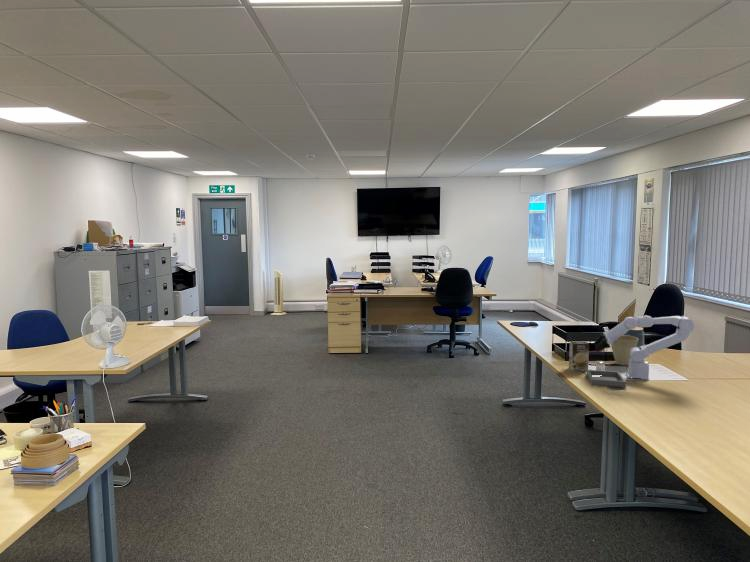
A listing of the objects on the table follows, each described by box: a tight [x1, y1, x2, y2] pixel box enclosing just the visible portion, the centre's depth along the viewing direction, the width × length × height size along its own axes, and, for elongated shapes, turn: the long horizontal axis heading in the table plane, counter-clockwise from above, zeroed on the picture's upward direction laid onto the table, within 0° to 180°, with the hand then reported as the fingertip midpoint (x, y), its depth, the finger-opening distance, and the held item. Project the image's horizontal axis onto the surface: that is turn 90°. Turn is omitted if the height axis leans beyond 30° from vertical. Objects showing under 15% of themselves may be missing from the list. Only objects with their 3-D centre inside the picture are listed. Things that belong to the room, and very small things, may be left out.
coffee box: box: [568, 340, 590, 372], centre depth 273 cm, size 9×6×16 cm
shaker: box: [595, 360, 606, 371], centre depth 268 cm, size 5×5×6 cm
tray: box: [586, 369, 627, 388], centre depth 253 cm, size 16×18×3 cm
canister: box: [623, 327, 645, 347], centre depth 317 cm, size 13×13×18 cm
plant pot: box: [610, 335, 638, 366], centre depth 283 cm, size 15×15×16 cm
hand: (595, 347), depth 265 cm, fingers open, 7 cm apart
